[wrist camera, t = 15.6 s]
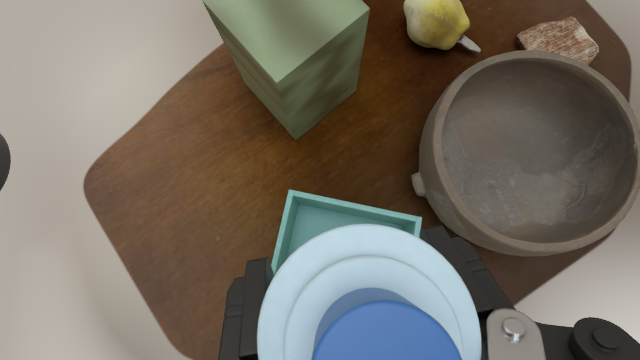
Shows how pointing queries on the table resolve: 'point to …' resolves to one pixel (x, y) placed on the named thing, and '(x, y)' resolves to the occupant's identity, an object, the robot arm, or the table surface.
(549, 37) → the stone
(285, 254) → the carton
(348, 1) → the stand
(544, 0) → the table surface
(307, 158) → the table surface
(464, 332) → the bottle
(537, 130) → the bowl
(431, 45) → the fruit
